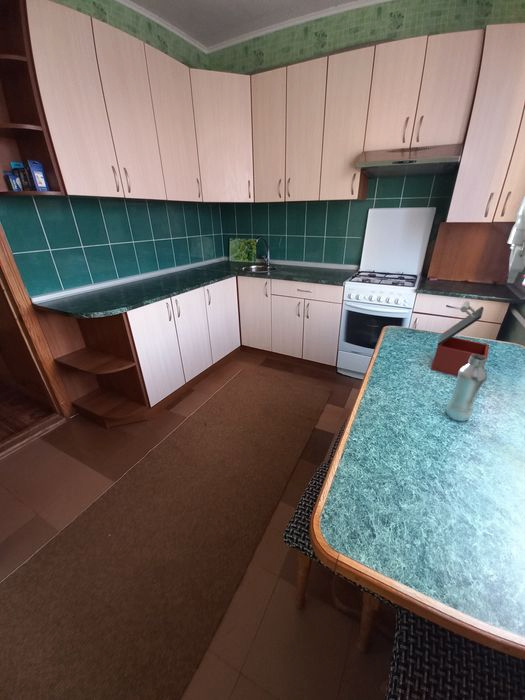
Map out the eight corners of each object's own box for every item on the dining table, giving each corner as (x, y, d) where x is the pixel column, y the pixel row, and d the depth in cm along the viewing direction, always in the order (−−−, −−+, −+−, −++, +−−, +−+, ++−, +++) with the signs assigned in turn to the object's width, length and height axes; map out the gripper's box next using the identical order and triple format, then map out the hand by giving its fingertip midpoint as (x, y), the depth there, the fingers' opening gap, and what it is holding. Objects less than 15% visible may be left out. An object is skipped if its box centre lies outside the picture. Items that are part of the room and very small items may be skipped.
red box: (480, 368, 109) (489, 344, 105) (478, 382, 101) (487, 357, 97) (436, 357, 117) (443, 334, 113) (430, 369, 109) (437, 346, 105)
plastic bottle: (440, 416, 86) (460, 357, 77) (448, 406, 90) (468, 349, 80) (465, 427, 81) (489, 366, 72) (472, 416, 85) (496, 357, 76)
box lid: (483, 307, 102) (470, 295, 103) (481, 317, 93) (466, 304, 94) (444, 334, 113) (432, 323, 114) (438, 345, 104) (426, 333, 105)
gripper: (540, 242, 87) (522, 287, 94) (536, 236, 102) (521, 275, 108) (513, 241, 91) (498, 285, 97) (513, 235, 105) (500, 273, 112)
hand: (510, 280), depth 103 cm, fingers open, 8 cm apart
